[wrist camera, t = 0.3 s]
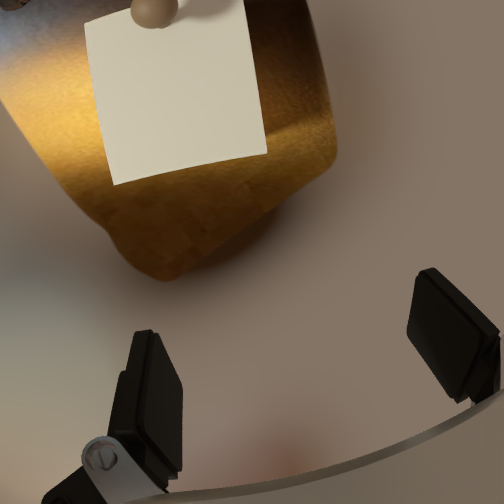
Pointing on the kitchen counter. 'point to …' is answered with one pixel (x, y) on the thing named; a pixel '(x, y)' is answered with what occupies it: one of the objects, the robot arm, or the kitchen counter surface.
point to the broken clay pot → (12, 4)
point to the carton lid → (174, 86)
